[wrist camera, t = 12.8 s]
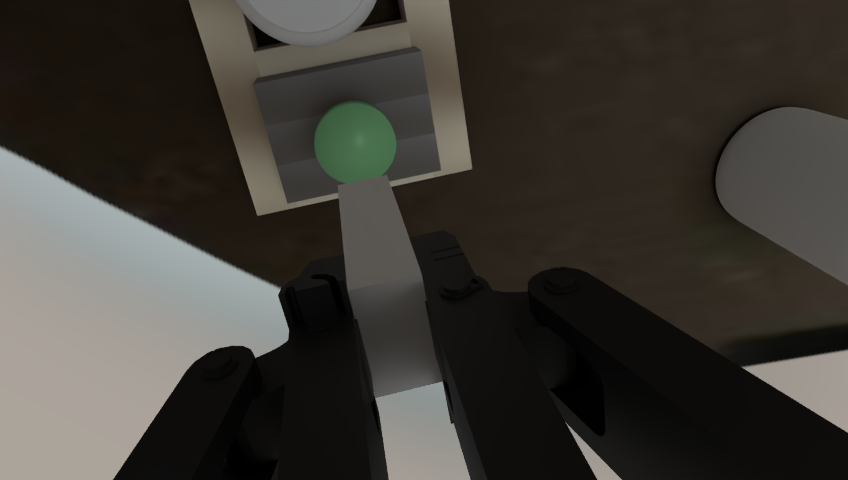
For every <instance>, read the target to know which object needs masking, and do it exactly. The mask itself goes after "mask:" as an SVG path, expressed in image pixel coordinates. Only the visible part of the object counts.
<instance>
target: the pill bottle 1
mask: <svg viewBox="0 0 848 480" xmlns="http://www.w3.org/2000/svg"><path fill="white" fill-rule="evenodd" d="M235 1H236V3H237V5H238V6H239V8H240V9H241V10H242V12H243V13H244V14H245V15H246V17H247V18H248V19H249V20H250V21H251V22H252V23H253V24H254V25H255V26H257V27H258V28H259V29H260V30H262V31H263V32H265V33H266V34H268V35H269V36H271V37H273V38H275V39H277V40H279V41H282V42H284V43H287V44H291V45H296V46H304V47H316V46H323V45H327V44H331V43H334V42H336V41H339V40H341V39H343V38H345V37H346V36H348V35H350V34H351V33H352V32H354V31H355V30H356V29H357V28H358V27H359V26H360V25H361V24H362V23H363V22H364V21H365V20H366V18H367V17H368V16H369V14H370V12H371V11H372V9H373V7H374V5H375V3H376V1H377V0H235Z"/></svg>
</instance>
